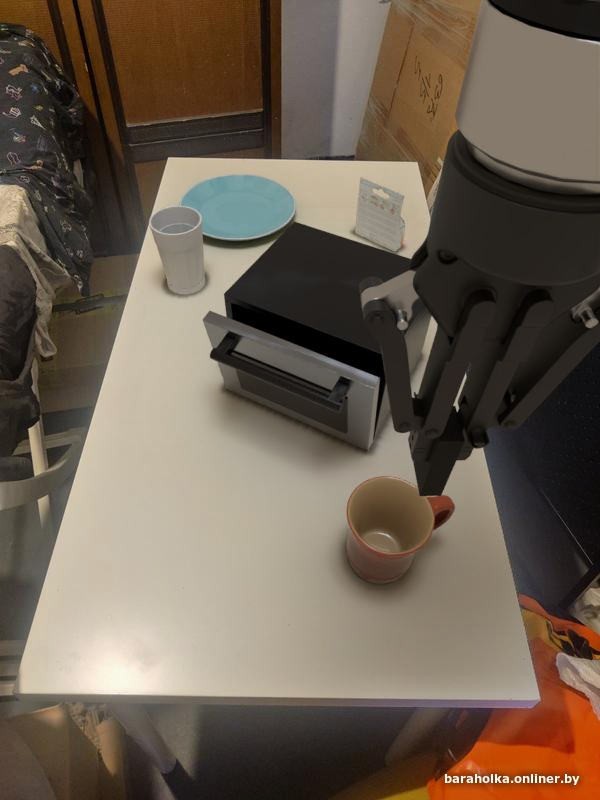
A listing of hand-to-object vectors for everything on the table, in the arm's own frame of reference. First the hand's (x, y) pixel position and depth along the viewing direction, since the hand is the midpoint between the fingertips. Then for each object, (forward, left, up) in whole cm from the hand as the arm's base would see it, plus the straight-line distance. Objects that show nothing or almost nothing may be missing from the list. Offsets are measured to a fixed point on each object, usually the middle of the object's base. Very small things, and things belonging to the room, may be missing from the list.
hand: (426, 478), depth 38 cm
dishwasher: (+3, -35, -26) cm, 44 cm away
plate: (+18, -75, -27) cm, 82 cm away
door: (+9, -25, -27) cm, 37 cm away
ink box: (-8, -67, -27) cm, 73 cm away
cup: (+26, -55, -27) cm, 66 cm away
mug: (-2, -6, -27) cm, 27 cm away
